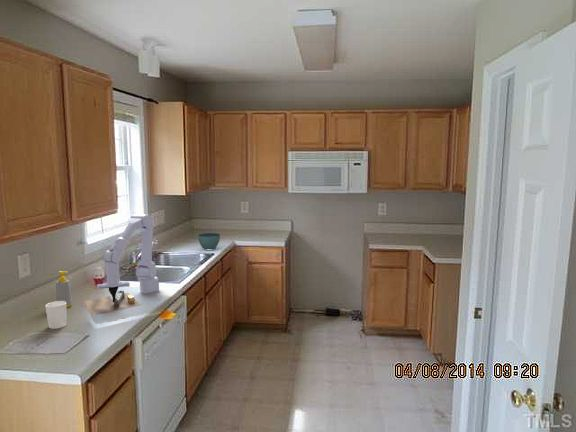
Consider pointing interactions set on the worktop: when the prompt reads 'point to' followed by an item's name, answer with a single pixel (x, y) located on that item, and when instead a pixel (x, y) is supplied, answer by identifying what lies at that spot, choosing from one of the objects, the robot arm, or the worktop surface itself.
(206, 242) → the plant pot
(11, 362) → the worktop surface
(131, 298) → the light wood small block
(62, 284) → the soap bottle
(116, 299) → the swing bar
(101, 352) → the worktop surface
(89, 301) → the latch board
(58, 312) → the white cup
